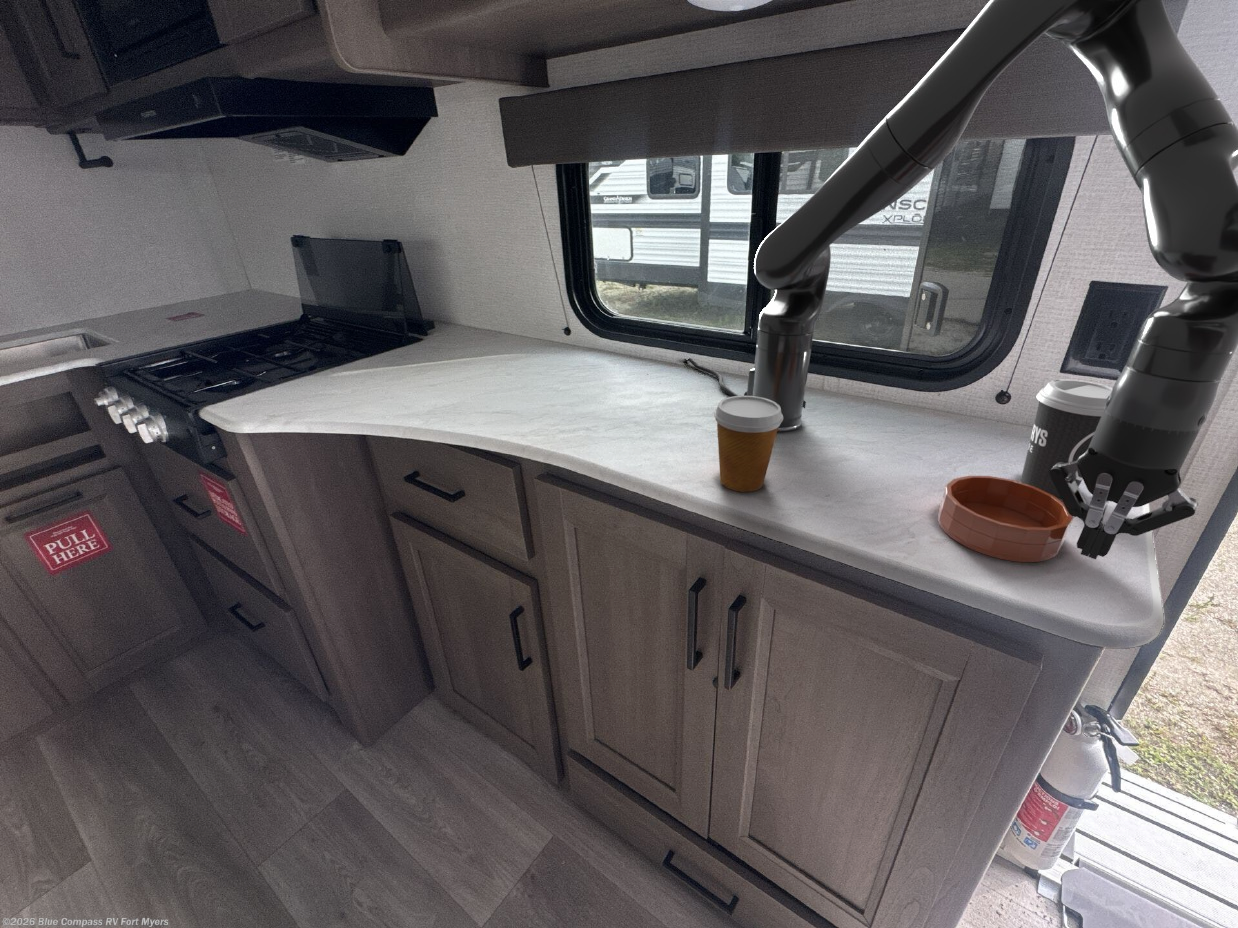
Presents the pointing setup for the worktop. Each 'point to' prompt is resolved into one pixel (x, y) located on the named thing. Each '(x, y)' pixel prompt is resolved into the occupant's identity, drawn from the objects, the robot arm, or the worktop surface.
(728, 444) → the disposable coffee cup
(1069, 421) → the coffee cup
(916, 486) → the worktop surface
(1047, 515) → the bowl
